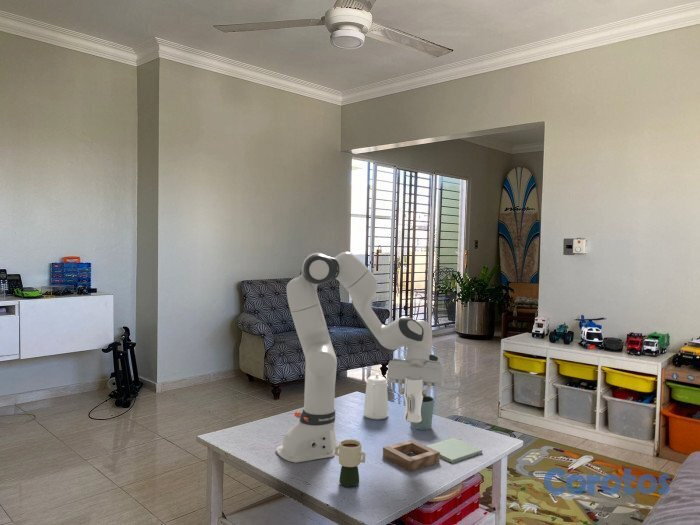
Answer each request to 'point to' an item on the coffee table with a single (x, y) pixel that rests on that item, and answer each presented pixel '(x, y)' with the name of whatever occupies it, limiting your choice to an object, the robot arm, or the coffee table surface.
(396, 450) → the walnut holder
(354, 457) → the character mug
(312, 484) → the coffee table surface
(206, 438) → the coffee table surface
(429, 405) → the green plant pot
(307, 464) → the coffee table surface
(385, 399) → the coffeepot
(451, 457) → the sage board
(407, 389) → the silver metal tumbler
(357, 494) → the coffee table surface
